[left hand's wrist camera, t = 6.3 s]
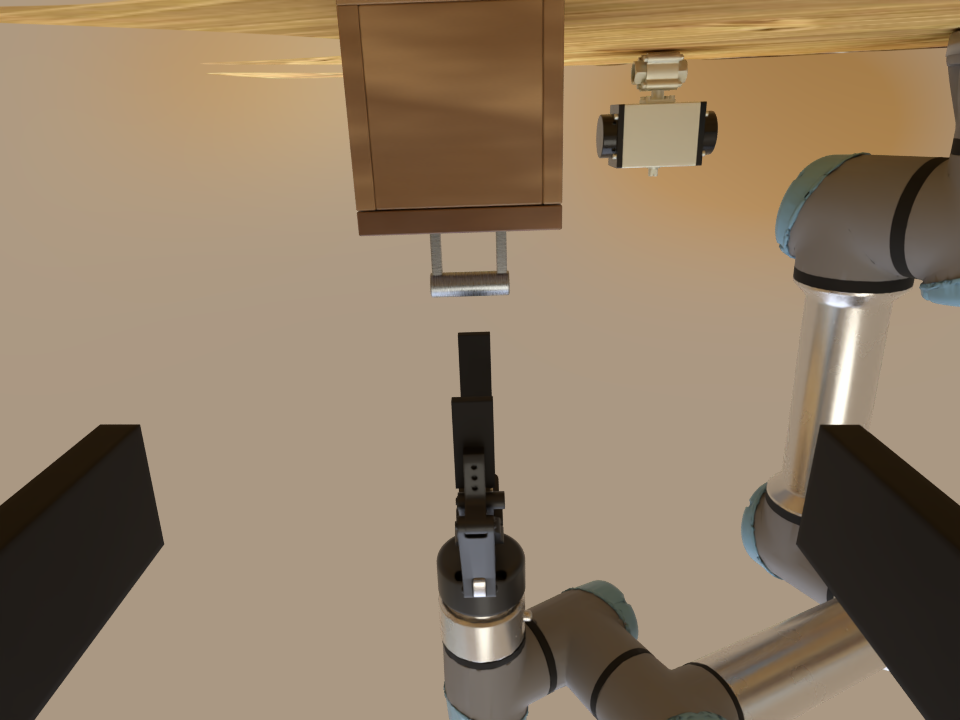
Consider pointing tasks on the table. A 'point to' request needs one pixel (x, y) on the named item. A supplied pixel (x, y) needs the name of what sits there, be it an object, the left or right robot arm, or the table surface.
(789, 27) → the table surface
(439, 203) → the chest
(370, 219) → the lid
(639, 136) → the pneumatic valve
